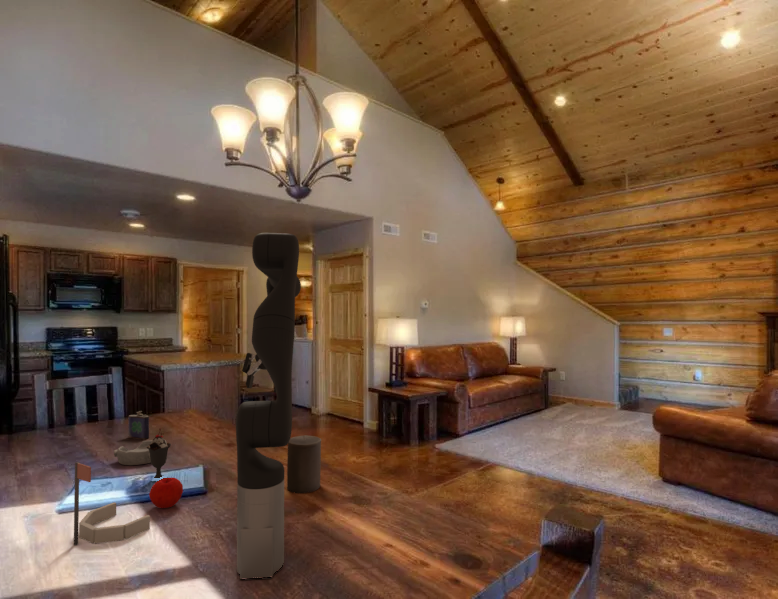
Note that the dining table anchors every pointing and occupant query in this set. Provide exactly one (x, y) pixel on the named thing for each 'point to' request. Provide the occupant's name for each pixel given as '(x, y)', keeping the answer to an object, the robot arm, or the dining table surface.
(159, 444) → the sundae
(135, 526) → the cup
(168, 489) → the apple
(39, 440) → the dining table surface
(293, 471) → the pillar candle
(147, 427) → the flask
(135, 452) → the dish
